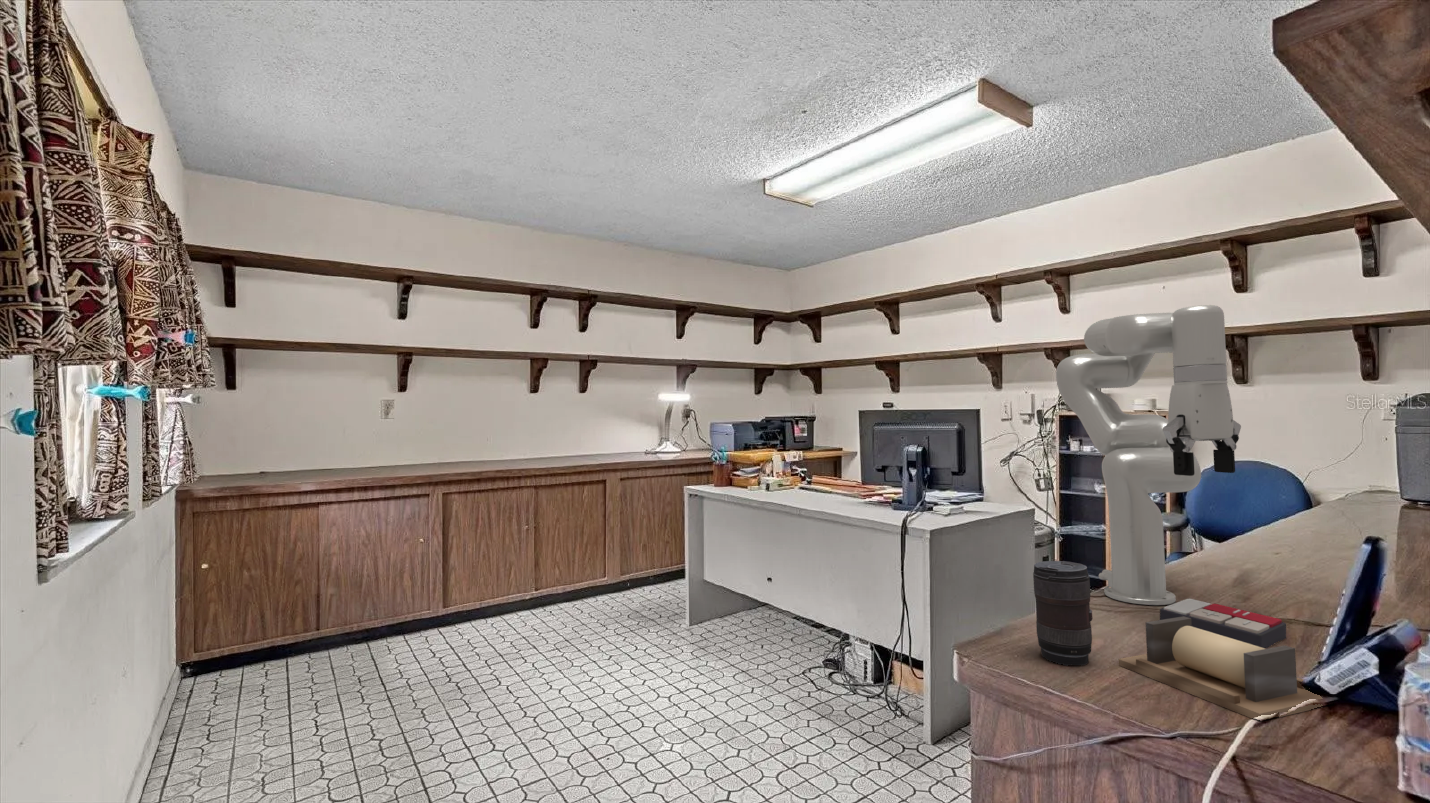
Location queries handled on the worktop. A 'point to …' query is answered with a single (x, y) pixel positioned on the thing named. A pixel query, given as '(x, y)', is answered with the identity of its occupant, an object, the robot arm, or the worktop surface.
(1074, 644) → the camera lens
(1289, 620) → the worktop surface
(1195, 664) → the beige cylinder
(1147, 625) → the roll holder
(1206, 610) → the calculator
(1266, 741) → the worktop surface
